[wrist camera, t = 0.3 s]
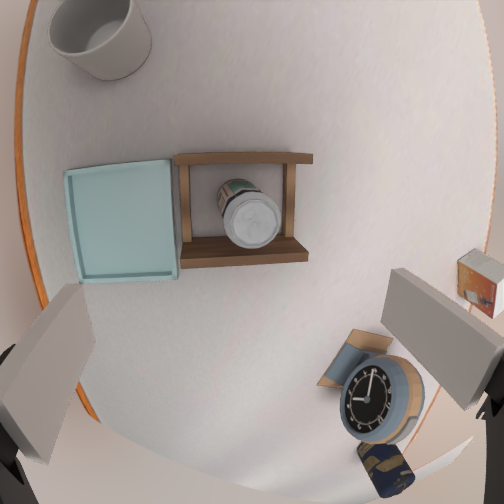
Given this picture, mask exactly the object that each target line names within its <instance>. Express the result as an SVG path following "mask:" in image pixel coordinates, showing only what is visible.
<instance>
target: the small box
mask: <svg viewBox="0 0 504 504" xmlns="http://www.w3.org/2000/svg"><path fill="white" fill-rule="evenodd" d="M458 294H459V295H460V296H461V297H463V298H464V299H466V300H467V301H468V302H470V303H471V304H473V305H474V306H475V307H477V308H478V309H480V310H481V311H482V312H484V313H485V314H486V315H488V316H489V317H490V318H492V319H493V318H495V317H496V316H497V315H498V314H499V313H500V312H501V311H503V310H504V264H503V263H501V262H500V261H498V260H496V259H494V258H492V257H490V256H488V255H486V254H484V253H482V252H480V251H479V250H477V249H474V250H473V251H471V252H470V253H468V254H467V255H466V256H464V257H463V258H461V259H460V260H458Z"/></svg>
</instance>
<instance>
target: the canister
mask: <svg viewBox="0 0 504 504" xmlns="http://www.w3.org/2000/svg"><path fill="white" fill-rule="evenodd" d="M358 455H359V457H360V459H361V461H362V463H363V465H364V468H365V469H366V471H367V473H368V475H369V477H370V479H371V481H372V483H373V485H374V486H375V488H376V490H377V492H378V494H379V496H380V497H381V498H389V497H392V496H394V495H398V494H400V493H401V492H402V491H403V490H405V489H406V488H407V487H409V486H410V485H411V484H412V483H413V482H414V480H415V475H414V473H413V472H412V470H411V468H410V467H409V465H408V464H407V462H406V460H405V459H404V457H403V455H402V453H401V452H400V450H399V449H398V447H397V446H396V444H389V445H387V444H386V443H382V444H368V443H365V442H364V443H363V444H362V445H361V446H360V447H359V449H358Z"/></svg>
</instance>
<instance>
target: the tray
mask: <svg viewBox="0 0 504 504" xmlns="http://www.w3.org/2000/svg"><path fill="white" fill-rule="evenodd" d="M63 179H64V190H65V200H66V209H67V217H68V224H69V231H70V237H71V243H72V249H73V254H74V259H75V264H76V269H77V274H78V279H79V283H80V284H84V283H113V282H138V281H160V280H178V274H179V272H178V262H177V251H176V238H175V225H174V209H173V190H172V165H171V159H163V160H150V161H139V162H129V163H119V164H110V165H102V166H95V167H87V168H80V169H74V170H68V171H63Z"/></svg>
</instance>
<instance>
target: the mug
mask: <svg viewBox="0 0 504 504" xmlns="http://www.w3.org/2000/svg"><path fill="white" fill-rule="evenodd" d="M48 40H49V43H50V45H51V47H52V48H53V50H54V51H55V52H57V53H58V54H59V55H61V56H63V57H64V58H66V59H68V60H69V61H71V62H73V63H74V64H76V65H78V66H79V67H81V68H82V69H84V70H86V71H87V72H88V73H90V74H91V75H93V76H94V77H96V78H99V79H102V80H117V79H121V78H123V77H126V76H128V75H130V74H131V73H133V72H134V71H136V70H137V69H138V68H139V67H140V66H141V65H142V64H143V63H144V61H145V60H146V58H147V57H148V55H149V52H150V49H151V43H152V40H151V34H150V31H149V29H148V27H147V25H146V23H145V21H144V19H143V17H142V15H141V12H140V10H139V8H138V6H137V3H136V1H135V0H63V1H62V2H61V3H60V5H59V6H58V7H57V8H56V10H55V12H54V13H53V15H52V17H51V19H50V22H49V26H48Z"/></svg>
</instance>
